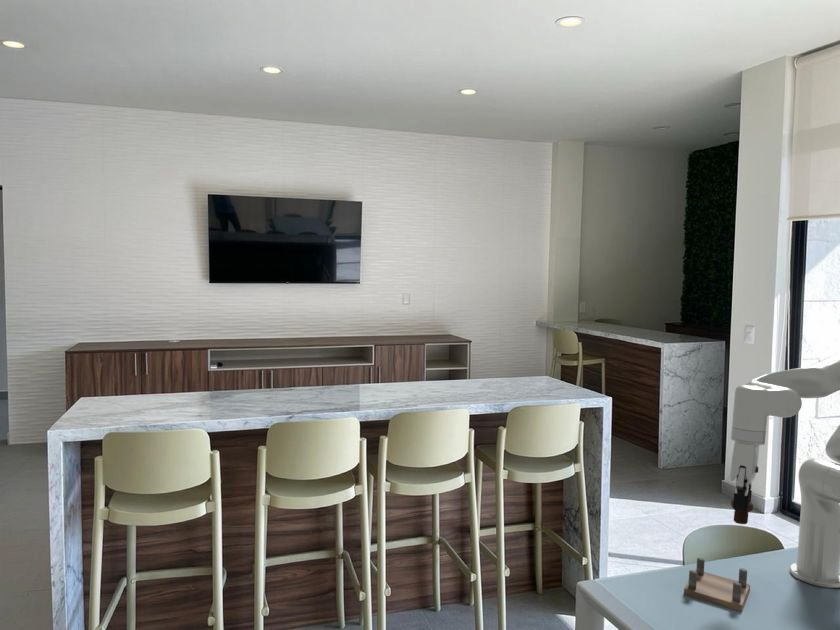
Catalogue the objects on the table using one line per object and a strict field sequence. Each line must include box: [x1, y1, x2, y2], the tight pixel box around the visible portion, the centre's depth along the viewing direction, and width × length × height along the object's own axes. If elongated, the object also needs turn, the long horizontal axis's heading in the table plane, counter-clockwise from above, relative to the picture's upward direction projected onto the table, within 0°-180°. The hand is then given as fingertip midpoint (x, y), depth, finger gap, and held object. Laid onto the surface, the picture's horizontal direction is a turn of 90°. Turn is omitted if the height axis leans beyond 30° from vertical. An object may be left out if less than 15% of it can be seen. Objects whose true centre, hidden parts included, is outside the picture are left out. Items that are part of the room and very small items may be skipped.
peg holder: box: [683, 557, 751, 612], centre depth 159 cm, size 13×13×6 cm
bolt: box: [730, 465, 759, 525], centre depth 158 cm, size 6×5×15 cm
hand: (741, 506), depth 159 cm, fingers closed on bolt, 4 cm apart
